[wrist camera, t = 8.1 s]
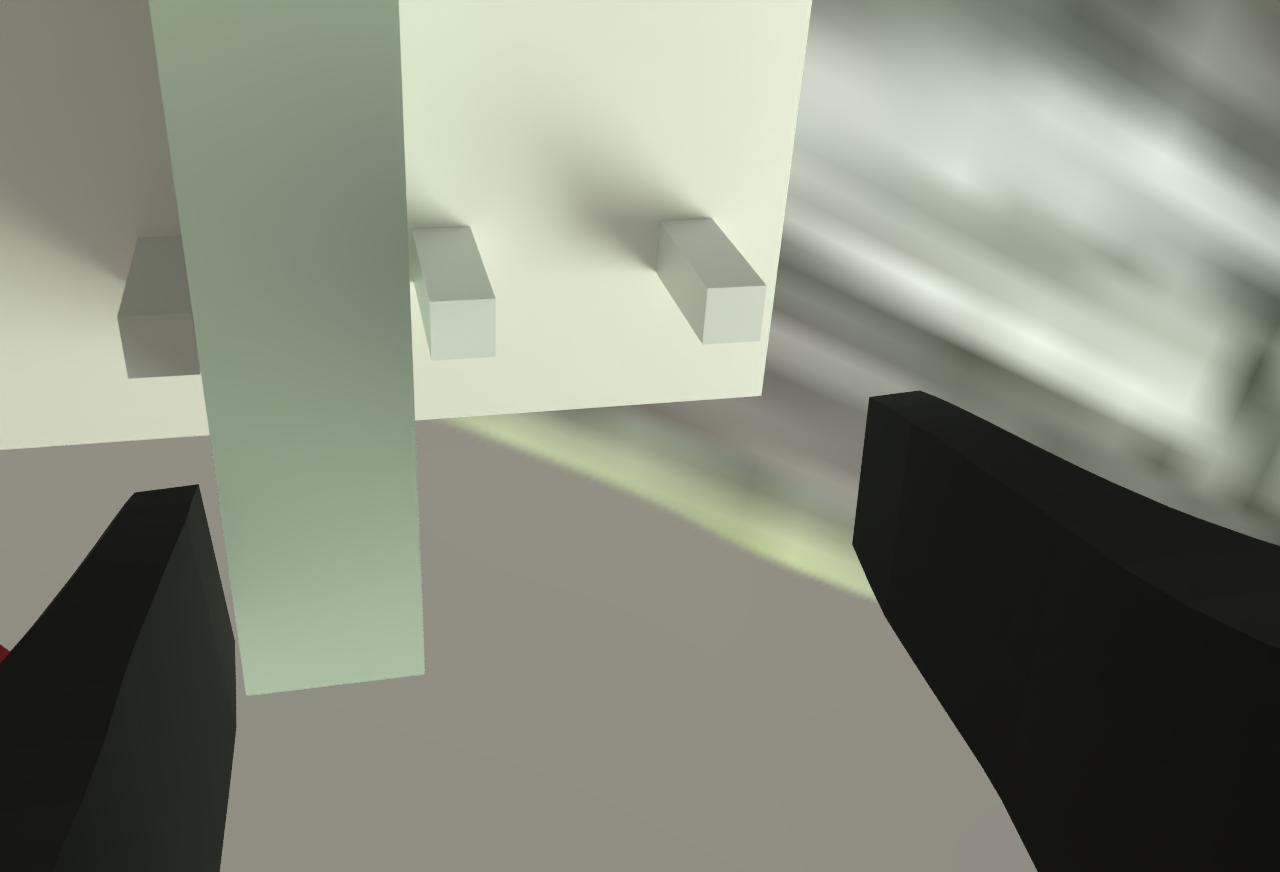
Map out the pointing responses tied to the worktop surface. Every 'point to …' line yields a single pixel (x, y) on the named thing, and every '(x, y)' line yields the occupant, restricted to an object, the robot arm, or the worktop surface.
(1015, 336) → the worktop surface
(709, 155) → the rack
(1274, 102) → the worktop surface
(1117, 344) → the worktop surface
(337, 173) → the pale green tall block
